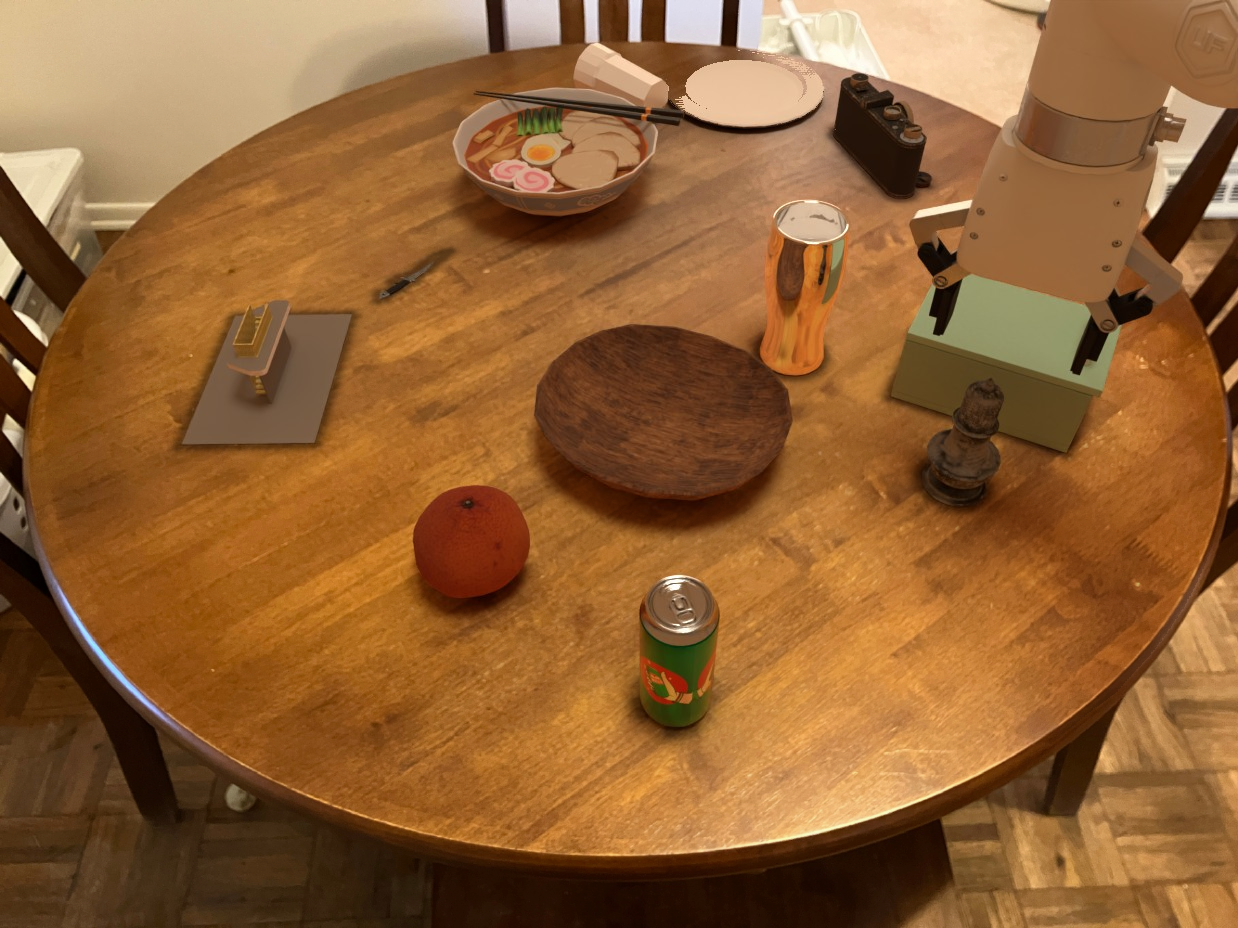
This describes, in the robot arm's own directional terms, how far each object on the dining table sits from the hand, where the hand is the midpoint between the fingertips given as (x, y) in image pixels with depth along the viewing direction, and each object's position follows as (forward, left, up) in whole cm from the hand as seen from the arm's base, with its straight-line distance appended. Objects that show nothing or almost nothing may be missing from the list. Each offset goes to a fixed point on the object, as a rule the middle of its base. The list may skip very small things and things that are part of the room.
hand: (1008, 343), depth 70 cm
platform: (+61, +16, -16) cm, 65 cm away
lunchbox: (0, -13, -16) cm, 21 cm away
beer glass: (+18, -9, -16) cm, 26 cm away
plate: (+43, -55, -16) cm, 71 cm away
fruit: (+31, +26, -16) cm, 44 cm away
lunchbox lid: (0, -13, -9) cm, 16 cm away
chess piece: (0, 0, -16) cm, 16 cm away
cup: (+50, -43, -13) cm, 67 cm away
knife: (+59, -3, -16) cm, 61 cm away
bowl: (+24, +7, -16) cm, 30 cm away
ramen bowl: (+52, -23, -16) cm, 59 cm away
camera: (+22, -47, -16) cm, 54 cm away
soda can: (+12, +29, -16) cm, 35 cm away
